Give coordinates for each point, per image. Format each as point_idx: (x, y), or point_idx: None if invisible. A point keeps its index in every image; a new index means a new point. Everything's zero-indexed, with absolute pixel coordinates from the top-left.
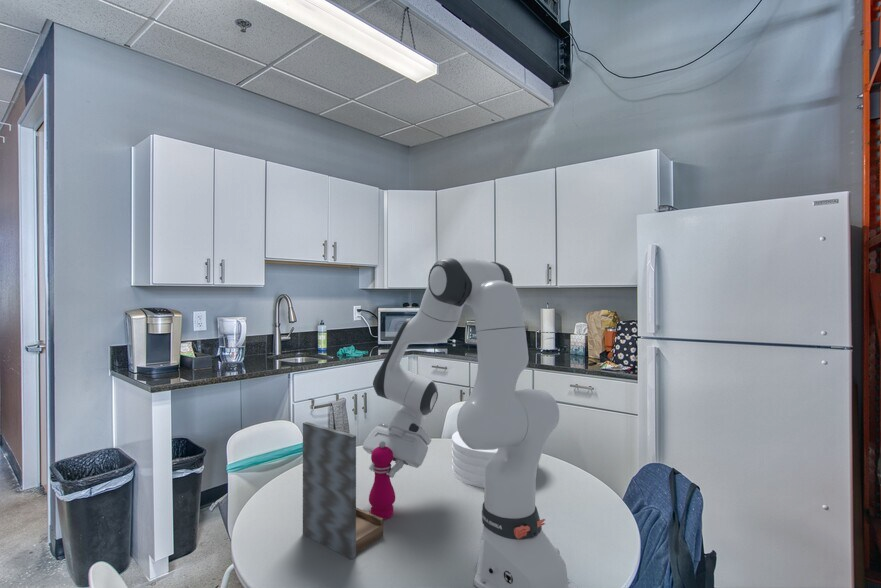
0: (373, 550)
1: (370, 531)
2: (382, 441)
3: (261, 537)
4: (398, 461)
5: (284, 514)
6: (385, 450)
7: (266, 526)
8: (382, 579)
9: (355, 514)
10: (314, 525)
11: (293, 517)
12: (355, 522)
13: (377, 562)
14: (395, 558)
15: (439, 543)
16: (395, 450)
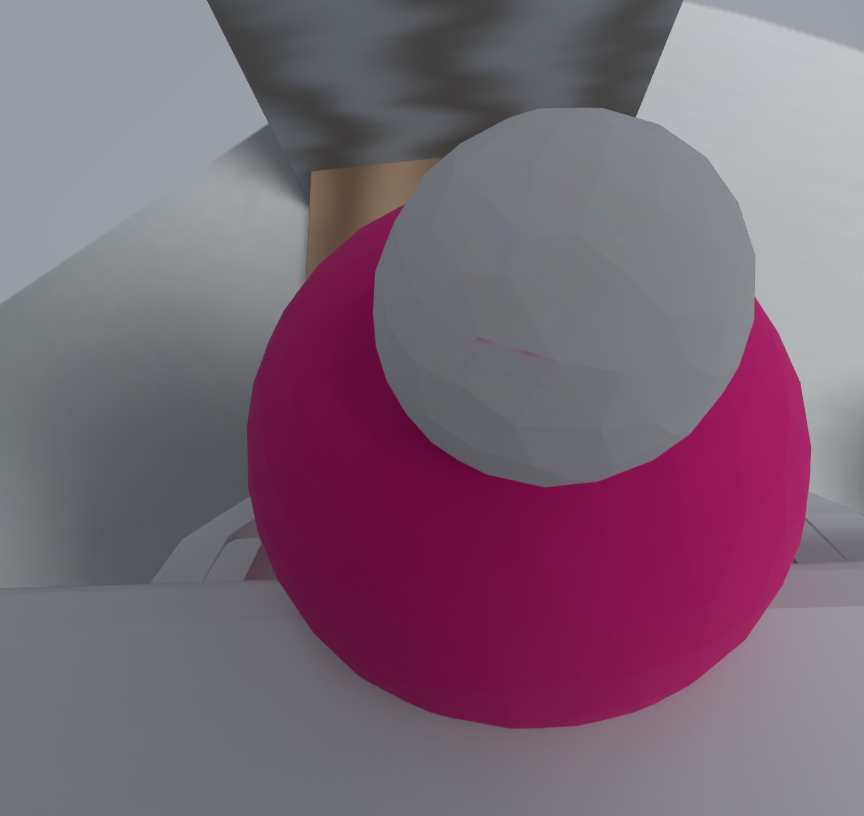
0: (289, 275)
1: (310, 262)
2: (566, 199)
3: (702, 67)
4: (186, 572)
5: (842, 191)
6: (308, 338)
7: (779, 105)
8: (161, 200)
9: (224, 30)
10: None
11: (781, 204)
12: (247, 77)
13: (229, 241)
14: (188, 294)
15: (85, 478)
16: (234, 737)
